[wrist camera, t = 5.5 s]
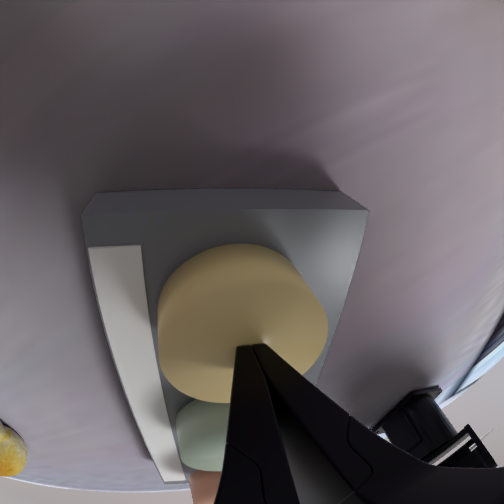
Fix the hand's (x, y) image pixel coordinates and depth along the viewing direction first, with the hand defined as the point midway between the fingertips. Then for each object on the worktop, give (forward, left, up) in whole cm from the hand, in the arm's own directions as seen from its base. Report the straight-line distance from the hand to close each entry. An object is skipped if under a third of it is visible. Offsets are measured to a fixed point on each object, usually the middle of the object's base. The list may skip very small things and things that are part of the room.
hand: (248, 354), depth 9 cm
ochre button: (0, 0, -2) cm, 2 cm away
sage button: (-2, +7, -2) cm, 7 cm away
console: (-2, +7, -4) cm, 8 cm away
